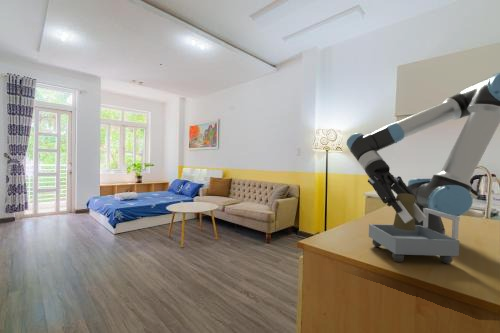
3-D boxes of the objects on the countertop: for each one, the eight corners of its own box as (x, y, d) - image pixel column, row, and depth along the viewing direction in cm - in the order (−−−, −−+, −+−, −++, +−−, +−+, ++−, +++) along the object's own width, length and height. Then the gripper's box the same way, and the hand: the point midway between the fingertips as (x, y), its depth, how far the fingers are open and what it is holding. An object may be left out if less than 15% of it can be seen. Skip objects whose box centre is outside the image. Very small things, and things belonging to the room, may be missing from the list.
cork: (419, 231, 71) (421, 195, 71) (397, 229, 73) (399, 194, 72) (410, 226, 77) (411, 193, 77) (390, 224, 79) (391, 191, 78)
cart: (422, 246, 83) (423, 207, 83) (461, 266, 67) (463, 218, 67) (368, 244, 83) (369, 206, 83) (394, 264, 67) (396, 216, 67)
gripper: (386, 172, 92) (427, 224, 77) (348, 172, 86) (385, 228, 71) (399, 159, 87) (445, 212, 72) (360, 157, 81) (402, 215, 66)
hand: (415, 220), depth 72 cm, fingers closed on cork, 5 cm apart
